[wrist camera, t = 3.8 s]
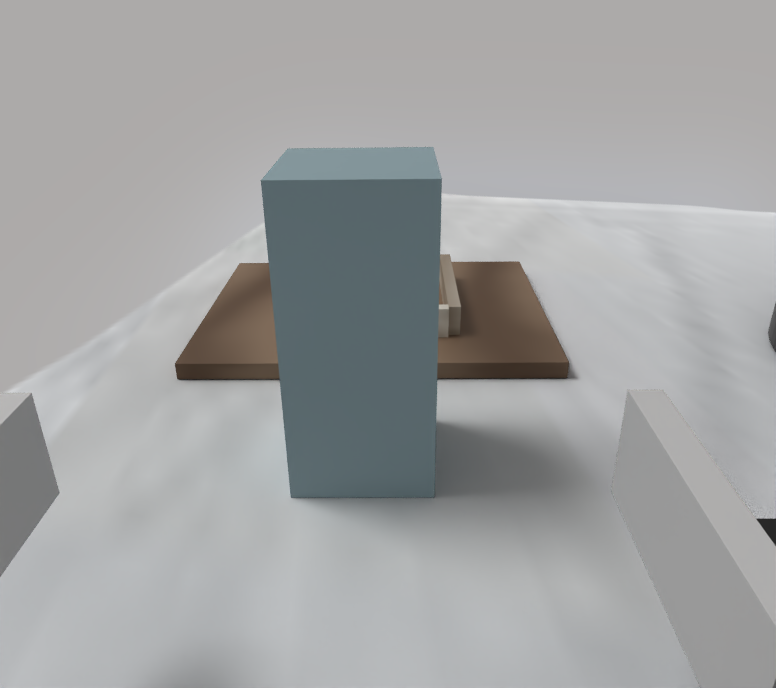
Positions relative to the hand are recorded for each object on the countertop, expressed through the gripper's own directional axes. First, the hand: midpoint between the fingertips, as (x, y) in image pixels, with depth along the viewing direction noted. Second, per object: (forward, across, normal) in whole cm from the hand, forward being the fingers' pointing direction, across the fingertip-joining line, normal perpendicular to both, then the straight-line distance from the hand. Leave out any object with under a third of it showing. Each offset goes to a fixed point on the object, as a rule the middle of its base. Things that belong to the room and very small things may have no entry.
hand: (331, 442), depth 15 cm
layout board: (+22, 0, -6) cm, 23 cm away
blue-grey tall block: (+9, 0, -6) cm, 11 cm away
